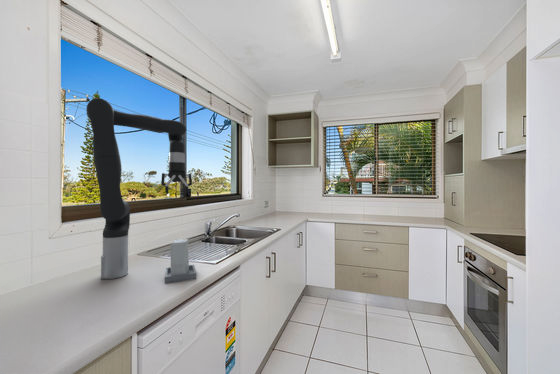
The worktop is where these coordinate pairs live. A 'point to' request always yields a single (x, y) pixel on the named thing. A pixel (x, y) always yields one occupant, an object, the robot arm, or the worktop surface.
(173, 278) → the tray
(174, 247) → the skincare box
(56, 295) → the worktop surface
